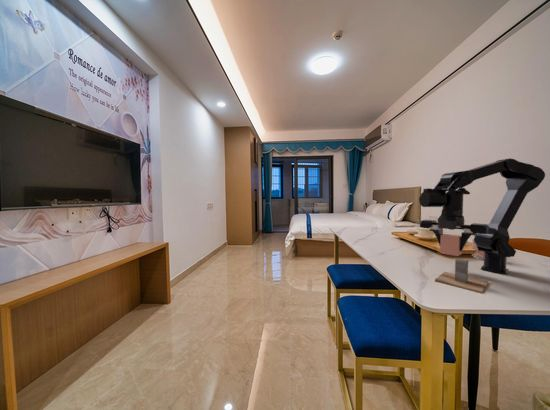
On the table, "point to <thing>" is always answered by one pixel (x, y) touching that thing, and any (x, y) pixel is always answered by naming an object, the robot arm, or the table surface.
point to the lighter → (477, 252)
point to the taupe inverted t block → (462, 278)
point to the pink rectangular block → (450, 244)
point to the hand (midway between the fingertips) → (451, 249)
